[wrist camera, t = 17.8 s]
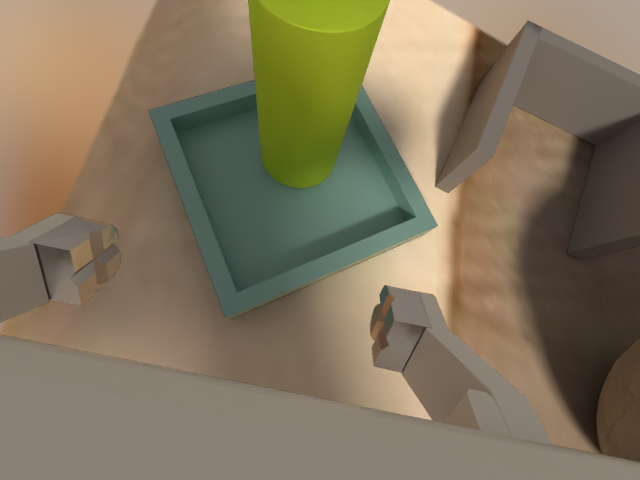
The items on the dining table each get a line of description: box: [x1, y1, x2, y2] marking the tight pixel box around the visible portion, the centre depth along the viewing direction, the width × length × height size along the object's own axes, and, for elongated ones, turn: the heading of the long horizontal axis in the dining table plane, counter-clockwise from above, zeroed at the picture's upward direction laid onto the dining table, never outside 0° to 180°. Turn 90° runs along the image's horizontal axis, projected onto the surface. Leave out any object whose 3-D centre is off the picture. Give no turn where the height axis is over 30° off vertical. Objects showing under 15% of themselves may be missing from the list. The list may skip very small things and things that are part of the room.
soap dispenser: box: [248, 0, 390, 188], centre depth 16 cm, size 6×7×20 cm
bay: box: [435, 21, 640, 259], centre depth 25 cm, size 13×13×6 cm
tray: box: [148, 80, 438, 319], centre depth 24 cm, size 16×16×2 cm
